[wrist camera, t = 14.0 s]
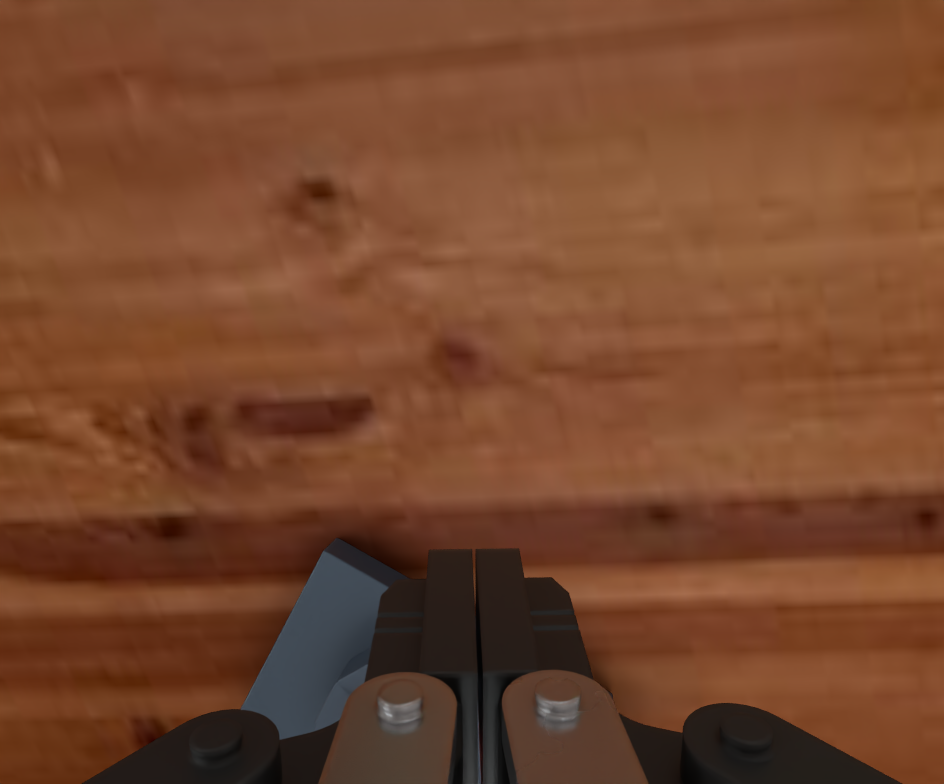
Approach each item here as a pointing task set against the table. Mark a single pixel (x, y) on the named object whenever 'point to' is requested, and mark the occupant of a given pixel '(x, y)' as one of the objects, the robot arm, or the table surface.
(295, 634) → the button box
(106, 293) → the table surface
